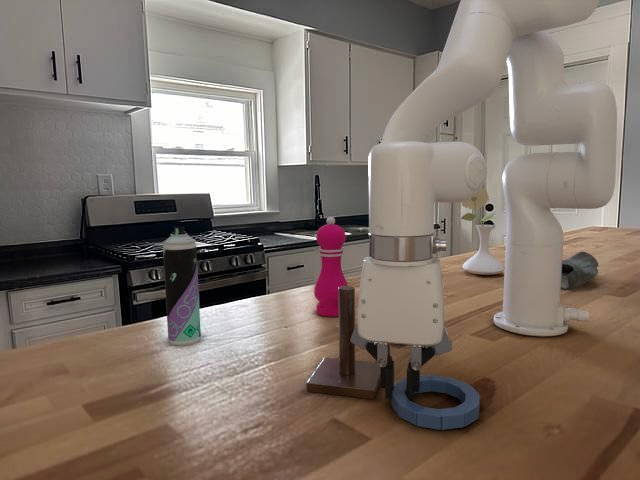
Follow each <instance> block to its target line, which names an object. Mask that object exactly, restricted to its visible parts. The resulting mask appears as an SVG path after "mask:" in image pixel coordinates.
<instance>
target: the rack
mask: <svg viewBox="0 0 640 480" xmlns="http://www.w3.org/2000/svg"><path fill="white" fill-rule="evenodd" d="M355 327H356V287H354V286H352V285H348V286H341V287H339V316H338V358H334V357H323V359H322V360H321V361H320V363H319V365H318V366H317V367H316V369H315V370H314V372H313V373H312V375H311V376H310V377H309V378H308V380H307V382H306V392H311V393H319V394H328V395H336V396H344V397H351V398H352V397H353V398H362V399H370V400H375V399H376V395H377V393H378V389H379V386H380V366H379V365H378V363H377V361H365V360H356V345H355V344H353V343H351V341H350V339H351V336H352V334H353V332H354V329H355Z"/></svg>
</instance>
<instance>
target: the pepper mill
mask: <svg viewBox="0 0 640 480" xmlns="http://www.w3.org/2000/svg"><path fill="white" fill-rule="evenodd" d="M346 235H347V234H346V231H345V229H343V227H342V226H340V225H338V224H336V219H335V217H334V216H328V217H327V218H326V224H324V225H322V226H321V227H319V228H318V230H317V232H316V239H315V240H316V243H317V245H319V248H318V252H319V253H318V255H319V256H320V261H321V268H320V271H319V274H318V277H317V280H316V282H315V285H314V289H313V290H314V291H313V294H314V297H315V299H316V300H317V301H318V302H317V303H316V313H317V315H319V316H322V317H327V318H328V317H329V318H330V317H331V318H332V317H333V318H334V317H339V287H341V286H349V285H348V281H347V279H346V278H345V275H344V272H343V270H342V269H343V268H342V257H343V256H344V248H343V245H344V244H345V242H346V240H347V239H346V238H347V237H346Z"/></svg>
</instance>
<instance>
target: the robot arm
mask: <svg viewBox="0 0 640 480" xmlns="http://www.w3.org/2000/svg"><path fill="white" fill-rule="evenodd" d="M599 3H600V0H460V2H459V4H458V7H457V10H456V12H455V16H454V19H453V22H452V24H451V27H450V30H449V33H448V36H447V39H446V42H445V45H444V48H443V51H442V53H441V56H440V59H439V62H438V65H437V67H436V69H435V70H433V72H432V73H430V74H429V75H428V76H427V77H426V78H425V79H424V80H423V81H422V82H421V83H420V84H418V86H417V87H416V88H414V89H413V91H412V92H411V93H410V94H409V95H408V96H407V97H406V98H405V99H404V100H403V101H402V102H401V103H400V104H399V106H398V107H397V108H396V110H395V111H394V113H393V114H392V115H391V117H390V119H389V121H388V122H387V125H386V126H385V129H384V132H383V134H382V137H381V140H380V143H378V144H375V145H374V146H373V147H372V148H371V150H370V152H369V155H368V255H369V256H365V257H364V259H363V263H362V266H361V267H362V268H361V273H360V279H359V280H360V281H359V291H358V304H357V317H356V318H357V319H356V321H357V323H356V324H355V329H354V332H353V334H352V336H351V339H350V341H351V343H353V344H355V346H356V347H358V348H361V349H363V350H366V352H368V354H369V355H370V356H371V357H372V358H373V359H374V360H375V362H377V363H378V365H379V366H380V384H379V386H380V389H384V398H385V400H386V399H387V400H391V394H392V390H393V388H394V386H395V360H393V356H392V355H391V344H394V345H395V344H398V345H407V346H410V358H409V362H408V364H407V368H406V378H407V398H408V399H409V401H411V402H413V403H414V396H415V394H414V392H419V389H420V375H421V369H422V367H423V366H424V365H426V363H428V362H429V361H431V359H433V358H434V357H435V356H439V355H443V354H446V353H449V352H452V350H453V342H452V340H451V337H450V335H449V332H448V329H447V327H446V325H445V294H444V293H445V292H444V289H445V288H444V278H443V277H444V275H443V270H442V263H441V260H440V259H439V258H436V257H434V255H436V254H437V253H440V252H447V239H440V238H437V236H436V235H435V203H442V204H443V203H446V204H447V203H448V204H449V203H450V204H454V203H461V202H463V201H466V200H468V199H470V198H472V197H474V196H475V195H476V194H477V193H478V192H479V191H480V190H481V189H483V187H484V184H485V183H486V178H487V174H488V169H487V162H486V159H485V157H484V155H483V154H482V152H481V151H480V150H479V149H478V148H477V147H476V146H474V145H473V144H471V143H468V142H464V141H455V140H453V141H438V142H435V141H432V142H424V141H425V140H426V139H427V137H429V135H430V134H431V133H432V132H433V131H434V130H435V129H437V128H438V127H439V126H441V125H442V124H444V123H445V122H447V121H448V120H451V119H453V118H454V117H456V116H458V115H461V114H462V113H464V112H466V111H468V110H470V109H472V108H473V107H475V106H477V105H479V104H480V103H482V102H484V101H485V100H487V99H489V98H490V97H491V96H492V95H493V94H494V93H496V91H497V90H498V89H499V86H500V84H501V82H502V77H503V74H504V70H505V67H507V73H508V74H507V76H508V102H509V103H508V105H509V106H508V109H509V126H510V135H511V137H512V139H513V140H514V142H516V143H517V144H519V145H522V146H532V147H533V146H554V145H556V146H557V145H558V146H559V145H576V146H578V147H579V150H580V151H564V152H563V151H561V152H559V151H556V152H554V151H553V152H534V153H526V154H522V155H521V154H520V155H518V156H516V157H514V158H512V159H511V160H509V162H508V163H506V165H505V167H504V169H503V171H502V180H501V181H502V190H503V196H504V197H503V198H504V204H505V248H504V249H505V252H504V268H505V269H504V271H503V272H504V273H503V275H504V276H503V278H504V279H503V297H502V298H503V299H502V311H498V312H496V313H495V314H494V315H493V323H494V325H495V326H497V327H498V328H500V329H502V330H503V331H507V332H510V333H514V334H518V335H524V336H532V337H554V336H555V337H557V336H561V335H564V334H565V333H567V332H568V330H569V322H570V321H577V322H589V321H590V311H589V310H583V309H578V308H577V307H565V306H564V305H563V304H562V303H561V289H562V288H561V273H562V260H563V254H564V253H563V252H564V239H565V238H564V231H563V227H562V225H561V223H560V221H559V220H558V219H557V217H556V215H554V213H553V212H552V210H551V209H574V210H575V209H576V210H594V209H595V210H596V209H600V208H603V207H606V206H607V205H608V204H609V203H610V202H611V200H612V198H613V197H614V196H613V195H614V193H615V188H616V187H615V186H616V174H617V135H618V133H617V132H618V108H617V107H618V106H617V100H616V97H615V93H614V91H613V89H612V88H611V87H610V86H609V85H608V84H606V83H604V82H599V81H587V82H579V83H571V84H566V82H565V55H564V52H563V50H562V48H561V47H560V45H559V44H558V42H557V41H556V40H555V38H553V37H552V35H550V34H549V33H548V32H547V31H548V30H552V29H557V28H563V27H567V26H571V25H574V24H577V23H580V22H583V21H584V22H585V21H586V20H588V19H589V18H590V17H591V16H592V15H593V14H594V12H595V11H596V9H597V8H598V5H599Z"/></svg>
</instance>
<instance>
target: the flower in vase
mask: <svg viewBox="0 0 640 480" xmlns="http://www.w3.org/2000/svg"><path fill="white" fill-rule="evenodd" d="M488 201H490V196H489V194H488V191H487V188H481V190H480V191H479V192H478V193H477V194H476V195H475V196H474V197H472V198H470V199H468V200H466V201H463V202H460V203H461V206H462V207H464V208H467V209H469V210H472V211H473V210H474V213H471V212H467V213H465V214H463V215H462V216H461V218H460V220H464V221H469V222H472V221H473V220H474V219H476V218H477V220H478V221H479V223H480V224H475V225H474V226H475V228H476V229H477V231H478V236H479V249H478V251H477V252H476V253H475V254H474V255H472V256H471V257H470V258H469V259H467V260H466V261H464V263H463V264H462V269H463V270H464V271H465V272H467V273H470V274H474V275H479V276H480V275H481V276H491V275H492V276H493V275H498V274H500V273H503V272H505V265H503V263H502V262H501V261H499V259H497V258H496V257H495V256H494V255H493V254H492V253H491V252H490V250H489V239H490V234H491V232H492V230H493V228H494V227H495V225H493V224H483V222H485V221H488V220H490V219H492V218H493V217H494V215H495V212H493V213H490V214H488V215H486V216H483V218H481V219H480V218H479V216H478V214H477V209H481V208H483V207H486V204H488Z"/></svg>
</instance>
